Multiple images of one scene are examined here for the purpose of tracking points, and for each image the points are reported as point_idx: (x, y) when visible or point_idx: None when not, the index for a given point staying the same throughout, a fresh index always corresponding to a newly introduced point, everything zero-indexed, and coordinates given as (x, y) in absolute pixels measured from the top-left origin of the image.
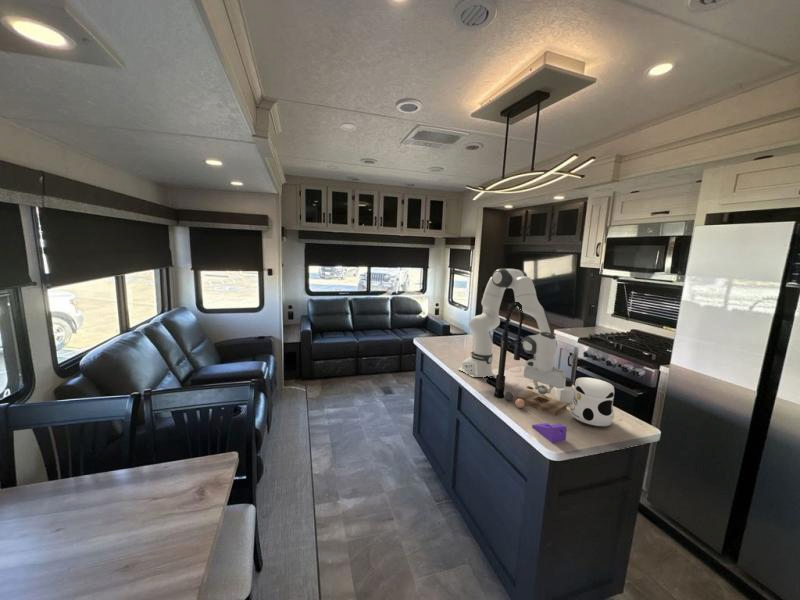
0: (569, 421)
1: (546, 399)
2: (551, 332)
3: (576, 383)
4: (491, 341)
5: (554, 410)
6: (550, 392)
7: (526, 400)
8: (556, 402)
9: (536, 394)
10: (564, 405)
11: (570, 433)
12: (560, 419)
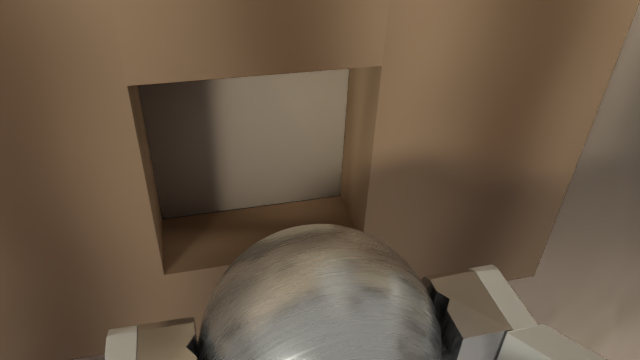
0: (631, 208)
1: (306, 68)
2: None
3: None
4: None
5: (518, 278)
6: (494, 276)
7: None
8: (497, 46)
9: (24, 43)
10: (625, 37)
11: (632, 338)
12: (553, 245)
